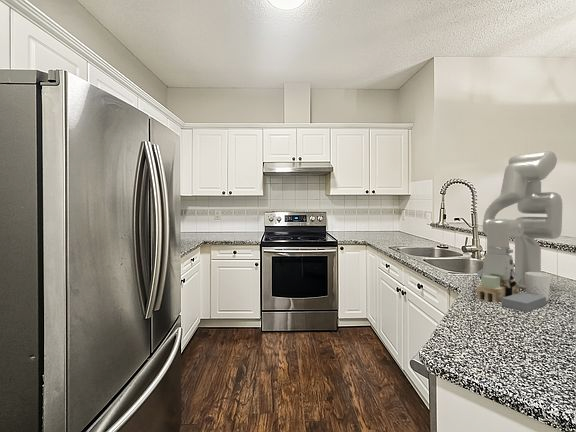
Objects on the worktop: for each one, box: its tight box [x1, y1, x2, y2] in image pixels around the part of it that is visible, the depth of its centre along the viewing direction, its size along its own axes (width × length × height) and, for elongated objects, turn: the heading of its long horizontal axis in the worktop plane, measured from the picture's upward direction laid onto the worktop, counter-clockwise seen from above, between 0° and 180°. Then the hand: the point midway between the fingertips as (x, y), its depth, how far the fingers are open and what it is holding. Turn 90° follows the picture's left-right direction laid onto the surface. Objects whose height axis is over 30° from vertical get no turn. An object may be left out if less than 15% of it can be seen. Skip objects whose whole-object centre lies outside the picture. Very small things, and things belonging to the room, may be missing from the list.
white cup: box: [525, 272, 551, 302], centre depth 126 cm, size 8×8×10 cm
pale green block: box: [480, 275, 500, 289], centre depth 127 cm, size 4×5×4 cm
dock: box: [501, 291, 547, 313], centre depth 118 cm, size 15×8×3 cm, turn 121°
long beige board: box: [476, 283, 520, 303], centre depth 130 cm, size 18×7×5 cm, turn 121°
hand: (497, 294), depth 130 cm, fingers closed on long beige board, 7 cm apart
